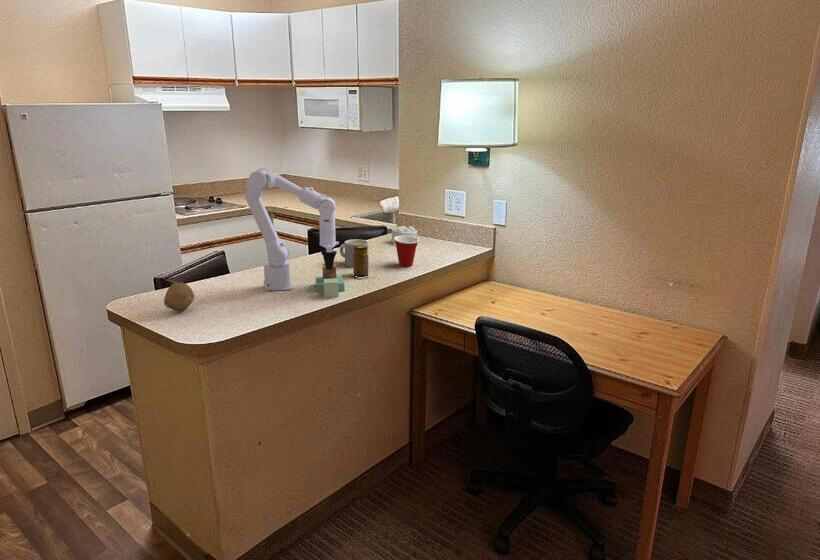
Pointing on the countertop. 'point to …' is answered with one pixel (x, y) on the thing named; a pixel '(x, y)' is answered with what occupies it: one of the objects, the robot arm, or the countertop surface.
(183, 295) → the brown round lump
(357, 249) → the condiment
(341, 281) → the teal base block
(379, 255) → the countertop surface
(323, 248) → the robot arm
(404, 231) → the lumpy-topped squat cylinder
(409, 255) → the plastic cup
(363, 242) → the coffee mug
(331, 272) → the walnut block
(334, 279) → the sage block
